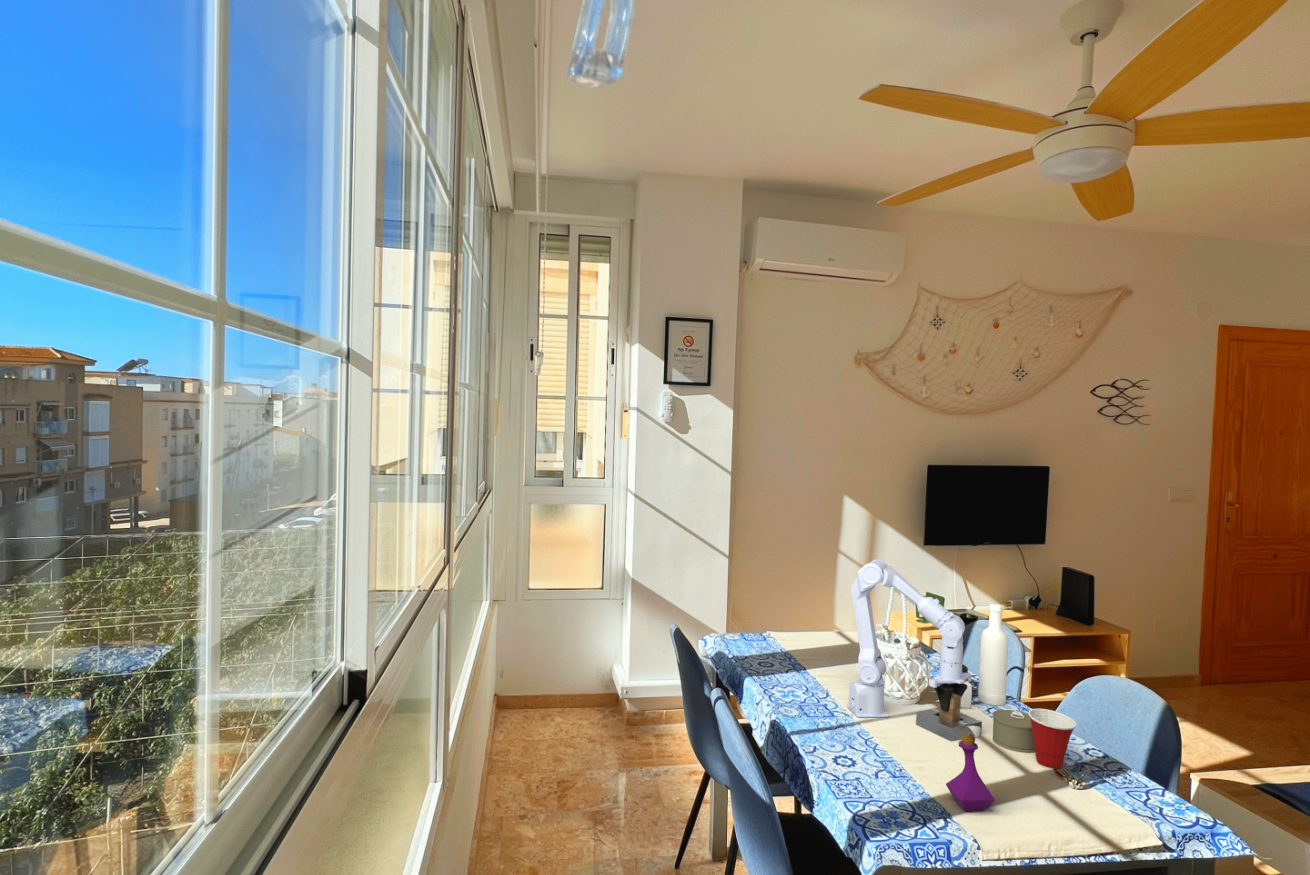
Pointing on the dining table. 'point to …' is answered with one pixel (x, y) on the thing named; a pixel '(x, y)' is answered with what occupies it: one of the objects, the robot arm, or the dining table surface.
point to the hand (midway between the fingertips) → (949, 709)
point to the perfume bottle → (970, 778)
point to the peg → (952, 709)
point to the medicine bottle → (968, 693)
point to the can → (1013, 731)
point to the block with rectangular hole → (945, 724)
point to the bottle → (993, 660)
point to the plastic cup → (1050, 736)
